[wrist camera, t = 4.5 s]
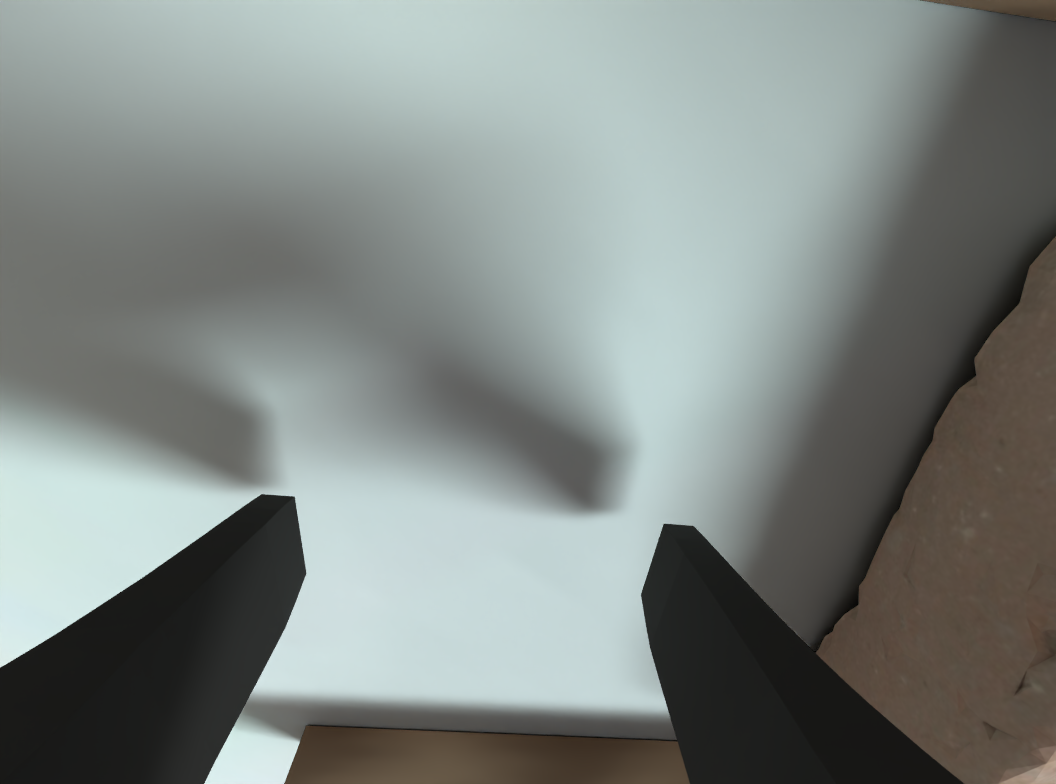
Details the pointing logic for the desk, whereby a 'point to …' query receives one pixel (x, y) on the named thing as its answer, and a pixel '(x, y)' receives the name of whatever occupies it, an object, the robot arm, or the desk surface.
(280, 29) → the desk surface
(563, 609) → the desk surface
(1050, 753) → the brick
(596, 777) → the lane
